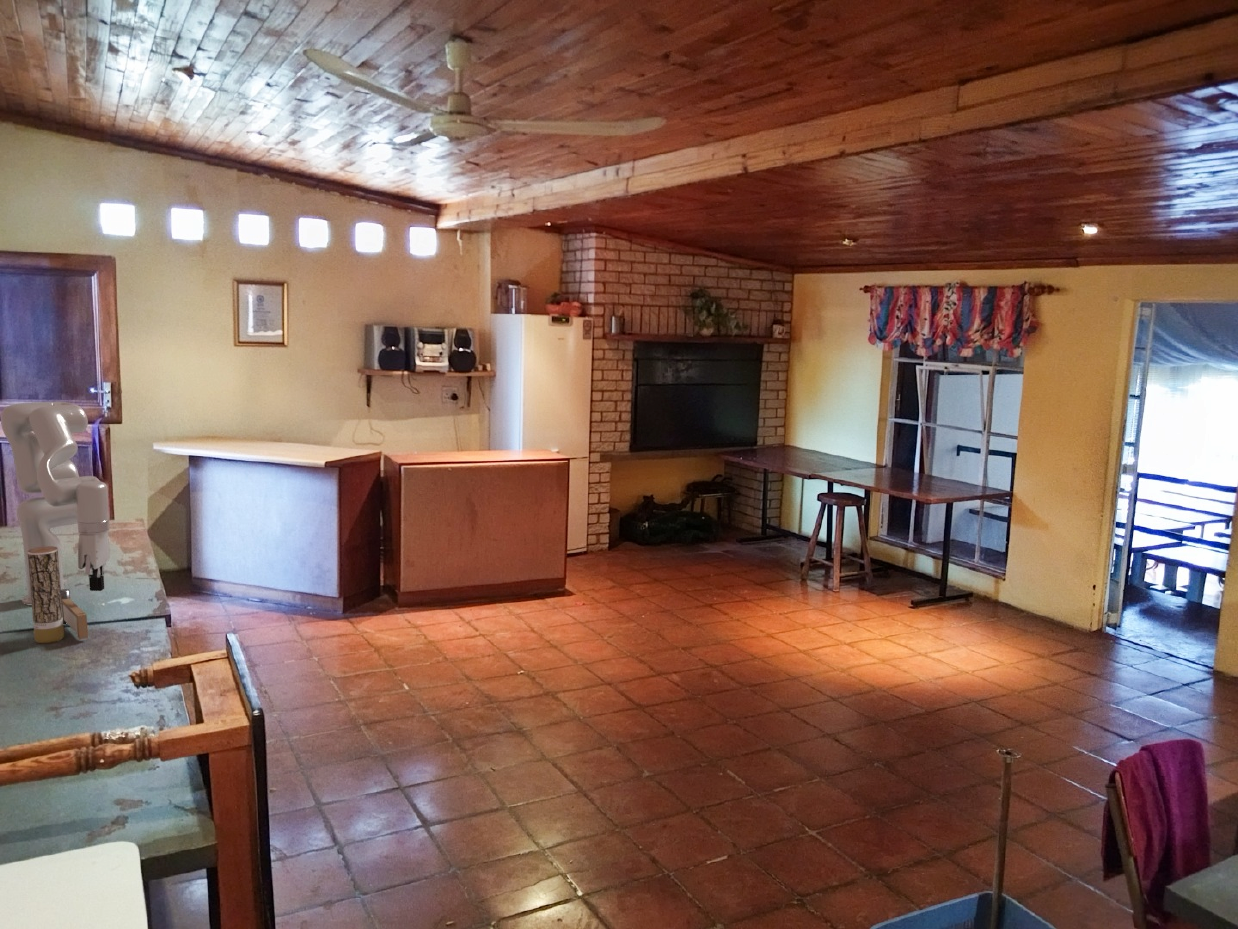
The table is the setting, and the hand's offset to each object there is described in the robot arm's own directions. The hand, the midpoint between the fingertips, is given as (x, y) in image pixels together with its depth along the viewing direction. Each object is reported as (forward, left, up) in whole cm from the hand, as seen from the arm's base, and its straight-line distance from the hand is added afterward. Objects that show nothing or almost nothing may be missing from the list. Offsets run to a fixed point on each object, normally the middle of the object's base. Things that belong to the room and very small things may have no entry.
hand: (97, 589), depth 259 cm
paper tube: (+10, -8, -11) cm, 17 cm away
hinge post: (-3, -10, -11) cm, 15 cm away
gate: (+5, -4, -10) cm, 12 cm away
